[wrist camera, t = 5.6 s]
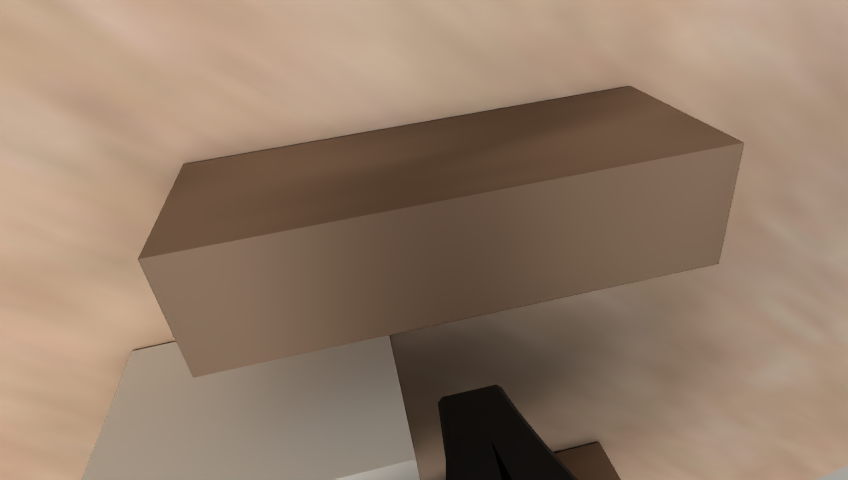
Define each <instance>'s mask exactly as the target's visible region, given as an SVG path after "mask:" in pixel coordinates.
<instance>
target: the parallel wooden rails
mask: <svg viewBox="0 0 848 480" xmlns="http://www.w3.org/2000/svg"><path fill="white" fill-rule="evenodd" d="M743 146H744V142H742V141H740V140H738V139H736V138H734V137H732V136H730V135H728V134H726V133H724V132H722V131H720V130H718V129H716V128H714V127H712V126H710V125H708V124H706V123H704V122H702V121H700V120H698V119H696V118H694V117H692V116H690V115H688V114H686V113H684V112H682V111H680V110H678V109H676V108H674V107H672V106H670V105H668V104H666V103H664V102H662V101H660V100H658V99H656V98H654V97H652V96H650V95H648V94H646V93H644V92H642V91H640V90H638V89H636V88H634V87H632V86H628V87H623V88H617V89H611V90H605V91H600V92H594V93H588V94H583V95H577V96H571V97H566V98H560V99H554V100H548V101H543V102H537V103H531V104H526V105H520V106H514V107H509V108H503V109H497V110H491V111H486V112H480V113H474V114H469V115H463V116H457V117H452V118H446V119H440V120H434V121H429V122H423V123H417V124H412V125H406V126H400V127H395V128H389V129H383V130H377V131H372V132H366V133H360V134H355V135H349V136H343V137H338V138H332V139H326V140H320V141H315V142H309V143H303V144H298V145H292V146H286V147H281V148H275V149H269V150H263V151H258V152H252V153H246V154H241V155H235V156H229V157H224V158H218V159H212V160H206V161H201V162H195V163H189V164H184V165H183V166H182V168H181V170H180V172H179V175H178V177H177V179H176V181H175V183H174V185H173V187H172V189H171V191H170V193H169V195H168V197H167V199H166V202H165V204H164V206H163V208H162V210H161V212H160V214H159V216H158V218H157V220H156V222H155V224H154V227H153V229H152V231H151V233H150V235H149V237H148V239H147V241H146V243H145V245H144V247H143V249H142V251H141V254H140V256H139V258H138V261H139V263H140V265H141V267H142V269H143V272H144V274H145V276H146V278H147V280H148V282H149V284H150V287H151V289H152V291H153V293H154V295H155V297H156V299H157V302H158V304H159V306H160V308H161V310H162V312H163V314H164V316H165V319H166V321H167V323H168V325H169V327H170V329H171V331H172V334H173V336H174V338H175V340H176V342H177V344H178V346H179V349H180V351H181V353H182V355H183V357H184V359H185V361H186V364H187V366H188V368H189V370H190V372H191V374H192V376H193V378H195V377H199V376H204V375H209V374H213V373H218V372H222V371H227V370H232V369H236V368H241V367H245V366H250V365H255V364H259V363H264V362H268V361H273V360H278V359H282V358H287V357H291V356H296V355H301V354H305V353H310V352H314V351H319V350H324V349H328V348H333V347H337V346H342V345H347V344H351V343H356V342H360V341H365V340H370V339H374V338H379V337H383V336H388V335H393V334H397V333H402V332H406V331H411V330H416V329H420V328H425V327H429V326H434V325H439V324H443V323H448V322H452V321H457V320H462V319H466V318H471V317H475V316H480V315H485V314H489V313H494V312H499V311H503V310H508V309H512V308H517V307H522V306H526V305H531V304H535V303H540V302H545V301H549V300H554V299H558V298H563V297H568V296H572V295H577V294H581V293H586V292H591V291H595V290H600V289H604V288H609V287H614V286H618V285H623V284H627V283H632V282H637V281H641V280H646V279H650V278H655V277H660V276H664V275H669V274H673V273H678V272H683V271H687V270H692V269H696V268H701V267H706V266H710V265H715V264H719V260H720V255H721V251H722V246H723V241H724V236H725V231H726V227H727V222H728V217H729V212H730V208H731V203H732V198H733V193H734V189H735V184H736V179H737V174H738V169H739V165H740V160H741V155H742V150H743ZM554 454H555V455H556V456H557V457H558V459H559V460H560V461H561V462H562V463H563V464H564V465H565V466H566V467H567V468H568V470H569V471H570V472H571V473H572V474H573V475H574V476H575V477H576V478H577V479H578V480H621V479H620V478H619V476H618V474H617V472H616V471H615V469H614V467H613V465H612V464H611V462H610V460H609V458H608V457H607V455H606V453H605V451H604V450H603V448H602V446H601V444H600V443H599V442H598V443H594V444H590V445H586V446H582V447H578V448H574V449H570V450H566V451H562V452H558V453H554Z"/></svg>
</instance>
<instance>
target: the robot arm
mask: <svg viewBox="0 0 848 480" xmlns="http://www.w3.org/2000/svg"><path fill="white" fill-rule="evenodd" d="M438 408H439V415H440V422H441V429H442V436H443V443H444V450H445V457H446V480H578V479H577V478H576V477H575V476H574V475H573V474H572V473H571V472H570V471H569V470H568V468H567V467H566V466H565V465H564V464H563V463H562V462H561V461H560V460H559V459H558V457H557V456H556V455H555V454H554V453H553V452H552V451H551V450H550V449H549V448H548V446H547V445H546V444H545V443H544V442H543V441H542V439H541V438H540V437H539V436H538V435H537V434H536V432H535V431H534V430H533V429H532V427H531V426H530V425H529V424H528V423H527V421H526V420H525V419H524V418H523V416H522V415H521V414H520V413H519V411H518V410H517V409H516V407H515V406H514V405H513V403H512V402H511V400H510V399H509V398H508V396H507V395H506V394H505V392H504V391H503V389H502V388H501V387H500V386H498V385H493V386H488V387H484V388H480V389H475V390H471V391H467V392H463V393H458V394H454V395H450V396H445V397H442V398H441V399H440V400H439V402H438Z"/></svg>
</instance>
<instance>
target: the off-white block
mask: <svg viewBox="0 0 848 480" xmlns="http://www.w3.org/2000/svg"><path fill="white" fill-rule="evenodd" d="M82 480H420V477H419V472H418V468H417V463H416V458H415V453H414V449H413V444H412V439H411V435H410V430H409V425H408V421H407V416H406V411H405V407H404V402H403V397H402V393H401V388H400V383H399V379H398V374H397V369H396V365H395V360H394V355H393V351H392V346H391V341H390V337H389V335H388V336H383V337H379V338H374V339H370V340H365V341H360V342H356V343H351V344H347V345H342V346H337V347H333V348H328V349H324V350H319V351H314V352H310V353H305V354H301V355H296V356H291V357H287V358H282V359H278V360H273V361H268V362H264V363H259V364H255V365H250V366H245V367H241V368H236V369H232V370H227V371H222V372H218V373H213V374H209V375H204V376H199V377H195V378H193V376H192V374H191V372H190V370H189V368H188V366H187V364H186V361H185V359H184V357H183V355H182V353H181V351H180V349H179V346H178V344H177V342H172V343H167V344H163V345H158V346H153V347H149V348H144V349H140V350H135V351H132V352H131V355H130V358H129V360H128V363H127V365H126V368H125V370H124V373H123V375H122V378H121V381H120V383H119V386H118V388H117V391H116V393H115V396H114V398H113V401H112V404H111V406H110V409H109V411H108V414H107V416H106V419H105V421H104V424H103V426H102V429H101V432H100V434H99V437H98V439H97V442H96V444H95V447H94V449H93V452H92V455H91V457H90V460H89V462H88V465H87V467H86V470H85V472H84V475H83V478H82Z"/></svg>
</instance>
